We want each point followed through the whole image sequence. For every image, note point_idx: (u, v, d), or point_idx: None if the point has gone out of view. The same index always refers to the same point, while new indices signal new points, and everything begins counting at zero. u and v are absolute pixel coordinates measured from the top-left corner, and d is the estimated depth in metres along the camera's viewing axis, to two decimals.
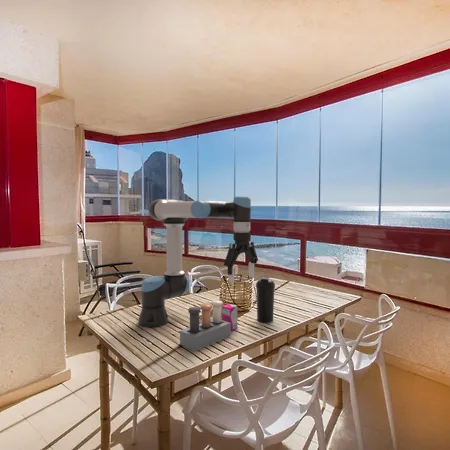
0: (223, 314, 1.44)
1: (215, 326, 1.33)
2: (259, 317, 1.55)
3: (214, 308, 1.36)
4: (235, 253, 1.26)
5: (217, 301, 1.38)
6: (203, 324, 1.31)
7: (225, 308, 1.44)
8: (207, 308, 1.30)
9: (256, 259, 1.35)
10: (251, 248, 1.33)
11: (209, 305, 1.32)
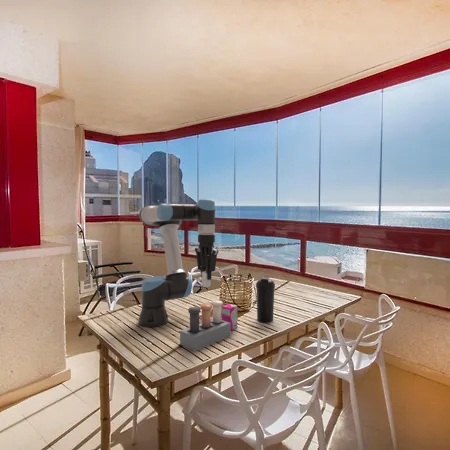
0: (223, 314, 1.44)
1: (215, 326, 1.33)
2: (259, 317, 1.55)
3: (214, 308, 1.36)
4: None
5: (217, 301, 1.38)
6: (203, 324, 1.31)
7: (225, 308, 1.44)
8: (207, 308, 1.30)
9: (209, 269, 1.28)
10: None
11: (209, 305, 1.32)
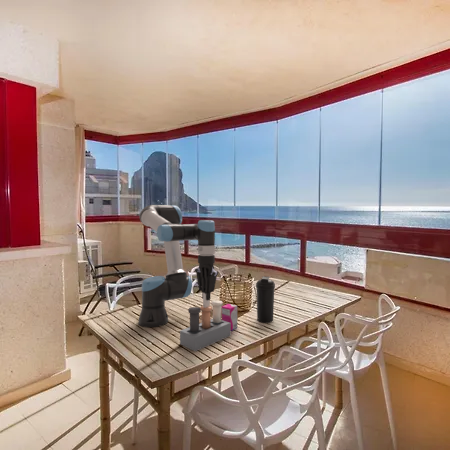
0: (223, 314, 1.44)
1: (215, 326, 1.33)
2: (259, 317, 1.55)
3: (214, 308, 1.36)
4: None
5: (217, 301, 1.38)
6: (203, 325, 1.31)
7: (225, 308, 1.44)
8: (207, 310, 1.30)
9: (208, 289, 1.29)
10: None
11: (209, 307, 1.32)
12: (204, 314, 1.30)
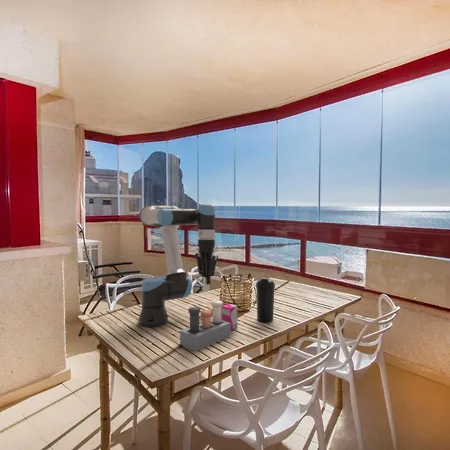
0: (223, 314, 1.44)
1: (215, 326, 1.33)
2: (259, 317, 1.55)
3: (214, 308, 1.36)
4: None
5: (217, 301, 1.38)
6: None
7: (225, 308, 1.44)
8: (207, 314, 1.30)
9: (208, 273, 1.29)
10: None
11: (209, 311, 1.32)
12: (204, 318, 1.30)
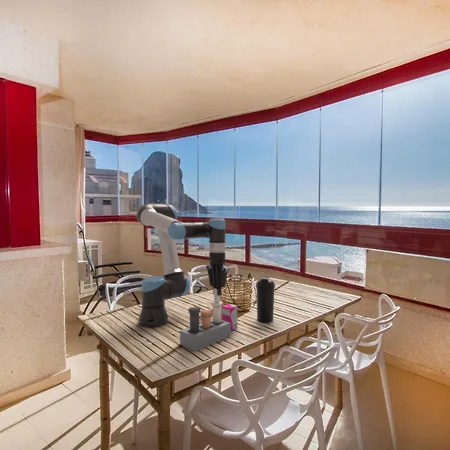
0: (223, 314, 1.44)
1: (215, 326, 1.33)
2: (259, 317, 1.55)
3: (214, 308, 1.36)
4: None
5: None
6: None
7: (225, 308, 1.44)
8: (207, 314, 1.30)
9: (219, 285, 1.34)
10: None
11: (209, 311, 1.32)
12: (204, 318, 1.30)
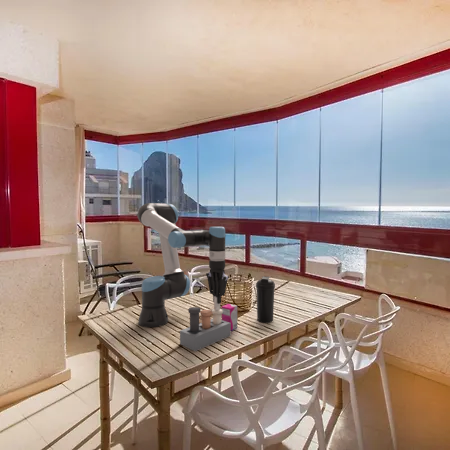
0: (223, 314, 1.44)
1: (215, 326, 1.33)
2: (259, 317, 1.55)
3: (214, 316, 1.36)
4: None
5: None
6: None
7: (225, 308, 1.44)
8: (207, 314, 1.30)
9: (219, 293, 1.34)
10: None
11: (209, 311, 1.32)
12: (204, 318, 1.30)
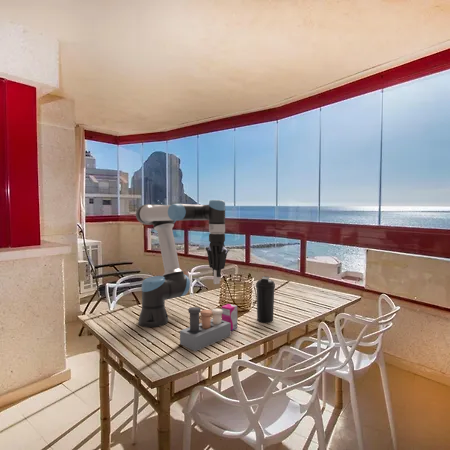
0: (223, 314, 1.44)
1: (215, 326, 1.33)
2: (259, 317, 1.55)
3: (214, 316, 1.36)
4: None
5: (217, 309, 1.38)
6: None
7: (225, 308, 1.44)
8: (207, 314, 1.30)
9: (219, 266, 1.34)
10: None
11: (209, 311, 1.32)
12: (204, 318, 1.30)
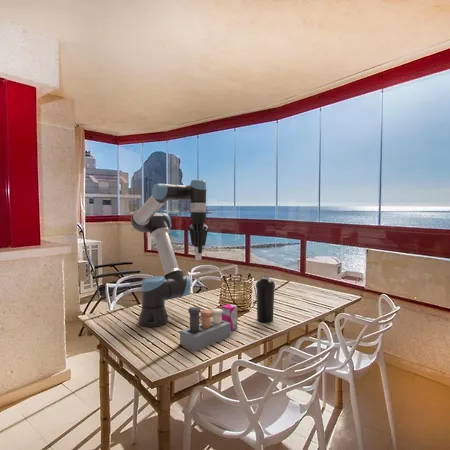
0: (223, 314, 1.44)
1: (215, 326, 1.33)
2: (259, 317, 1.55)
3: (214, 316, 1.36)
4: None
5: (217, 309, 1.38)
6: None
7: (225, 308, 1.44)
8: (207, 314, 1.30)
9: (200, 243, 1.41)
10: None
11: (209, 311, 1.32)
12: (204, 318, 1.30)
